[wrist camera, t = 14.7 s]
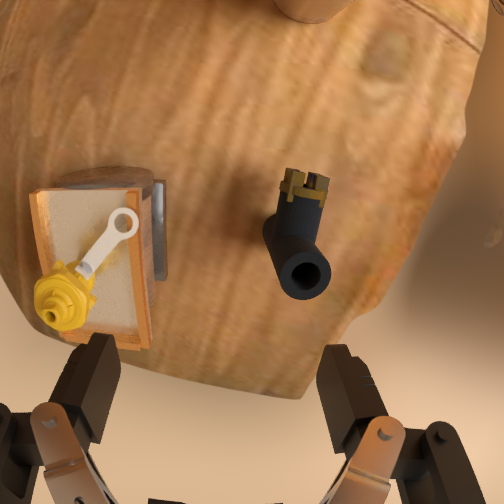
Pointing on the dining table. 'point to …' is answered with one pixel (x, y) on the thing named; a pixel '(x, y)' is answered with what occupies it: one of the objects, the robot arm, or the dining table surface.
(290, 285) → the pipe connector
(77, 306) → the pressure relief valve
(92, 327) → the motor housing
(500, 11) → the place setting
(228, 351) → the dining table surface
